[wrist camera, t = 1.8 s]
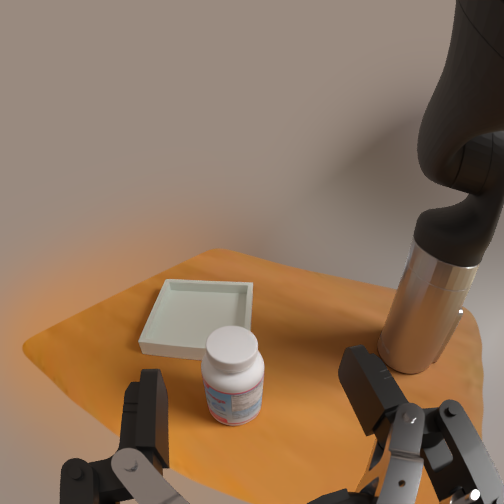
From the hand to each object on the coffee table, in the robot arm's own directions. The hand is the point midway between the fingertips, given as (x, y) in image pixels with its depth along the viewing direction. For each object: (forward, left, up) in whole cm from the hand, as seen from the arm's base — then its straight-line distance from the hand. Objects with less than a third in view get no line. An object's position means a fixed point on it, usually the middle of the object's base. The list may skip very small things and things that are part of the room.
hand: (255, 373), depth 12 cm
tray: (+8, -24, -20) cm, 32 cm away
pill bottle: (+2, -10, -21) cm, 23 cm away
